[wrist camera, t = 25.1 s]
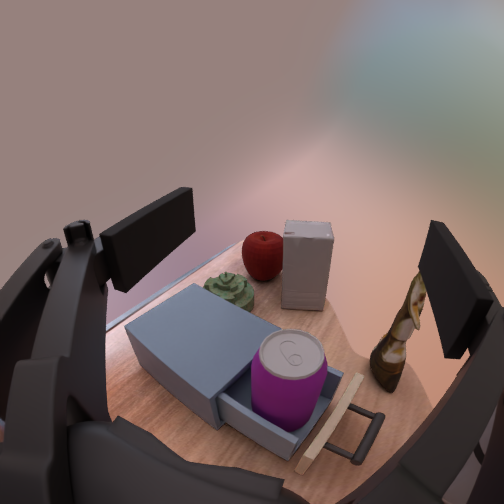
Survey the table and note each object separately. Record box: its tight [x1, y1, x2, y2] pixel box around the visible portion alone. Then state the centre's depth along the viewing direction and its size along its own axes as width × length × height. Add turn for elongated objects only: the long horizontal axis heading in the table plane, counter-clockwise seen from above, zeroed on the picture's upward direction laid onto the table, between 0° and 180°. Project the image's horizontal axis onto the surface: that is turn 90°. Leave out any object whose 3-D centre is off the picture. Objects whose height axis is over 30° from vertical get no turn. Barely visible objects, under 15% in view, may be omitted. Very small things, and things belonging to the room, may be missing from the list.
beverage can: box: [251, 329, 327, 432], centre depth 27 cm, size 8×8×12 cm
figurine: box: [370, 271, 426, 393], centre depth 31 cm, size 5×8×20 cm, turn 9°
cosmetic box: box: [281, 220, 334, 311], centre depth 49 cm, size 8×7×16 cm
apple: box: [242, 231, 283, 281], centre depth 58 cm, size 10×10×10 cm
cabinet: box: [124, 283, 282, 430], centre depth 36 cm, size 17×14×9 cm
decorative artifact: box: [203, 272, 254, 312], centre depth 51 cm, size 10×7×10 cm
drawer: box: [215, 365, 385, 475], centre depth 28 cm, size 20×12×7 cm, turn 52°
